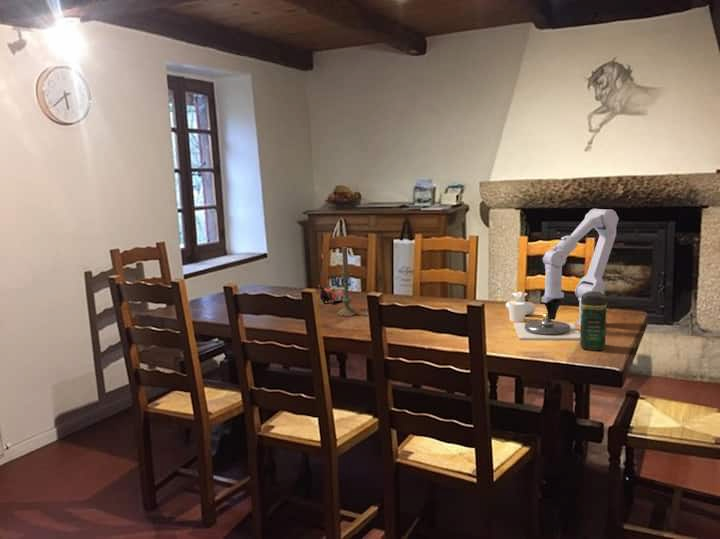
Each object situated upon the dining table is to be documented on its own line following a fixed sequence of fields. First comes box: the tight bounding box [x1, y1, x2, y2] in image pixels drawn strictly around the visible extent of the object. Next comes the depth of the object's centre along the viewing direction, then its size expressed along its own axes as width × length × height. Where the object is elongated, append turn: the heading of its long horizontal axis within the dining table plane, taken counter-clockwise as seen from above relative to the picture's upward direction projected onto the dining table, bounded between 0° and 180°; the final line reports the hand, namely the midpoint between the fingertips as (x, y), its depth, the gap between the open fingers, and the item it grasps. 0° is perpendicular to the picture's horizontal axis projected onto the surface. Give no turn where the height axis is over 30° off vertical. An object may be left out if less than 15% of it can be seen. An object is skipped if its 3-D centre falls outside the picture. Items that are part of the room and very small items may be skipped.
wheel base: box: [513, 322, 581, 341], centre depth 228 cm, size 22×22×1 cm
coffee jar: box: [579, 291, 607, 351], centre depth 205 cm, size 10×8×19 cm
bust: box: [505, 290, 536, 316], centre depth 255 cm, size 12×8×11 cm
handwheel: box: [525, 312, 570, 334], centre depth 227 cm, size 16×16×4 cm
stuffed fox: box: [318, 285, 345, 303], centre depth 298 cm, size 8×11×12 cm
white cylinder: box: [507, 301, 526, 323], centre depth 247 cm, size 7×7×7 cm
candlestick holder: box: [337, 246, 357, 315], centre depth 268 cm, size 9×9×30 cm
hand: (552, 319), depth 231 cm, fingers closed, pressing on handwheel
